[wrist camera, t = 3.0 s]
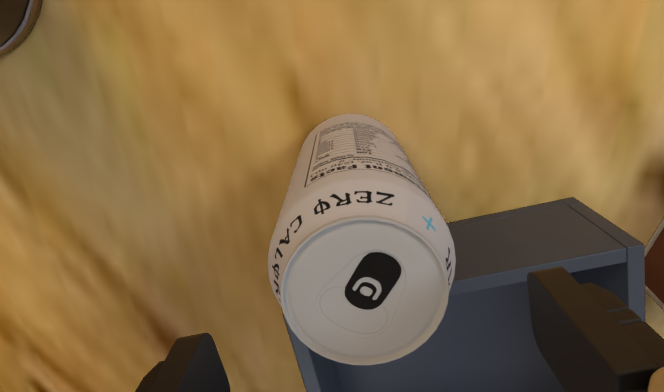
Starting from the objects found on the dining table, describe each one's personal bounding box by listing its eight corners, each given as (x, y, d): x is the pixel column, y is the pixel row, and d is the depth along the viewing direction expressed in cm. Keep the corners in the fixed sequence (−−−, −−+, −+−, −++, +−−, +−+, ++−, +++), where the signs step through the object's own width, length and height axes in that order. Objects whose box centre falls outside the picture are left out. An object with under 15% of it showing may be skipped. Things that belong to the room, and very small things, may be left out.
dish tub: (352, 456, 35) (355, 551, 28) (294, 254, 29) (282, 314, 23) (587, 418, 33) (647, 508, 27) (573, 196, 28) (645, 244, 21)
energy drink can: (282, 181, 28) (224, 332, 13) (329, 91, 26) (319, 157, 12) (369, 224, 28) (400, 409, 14) (419, 141, 27) (513, 258, 12)
